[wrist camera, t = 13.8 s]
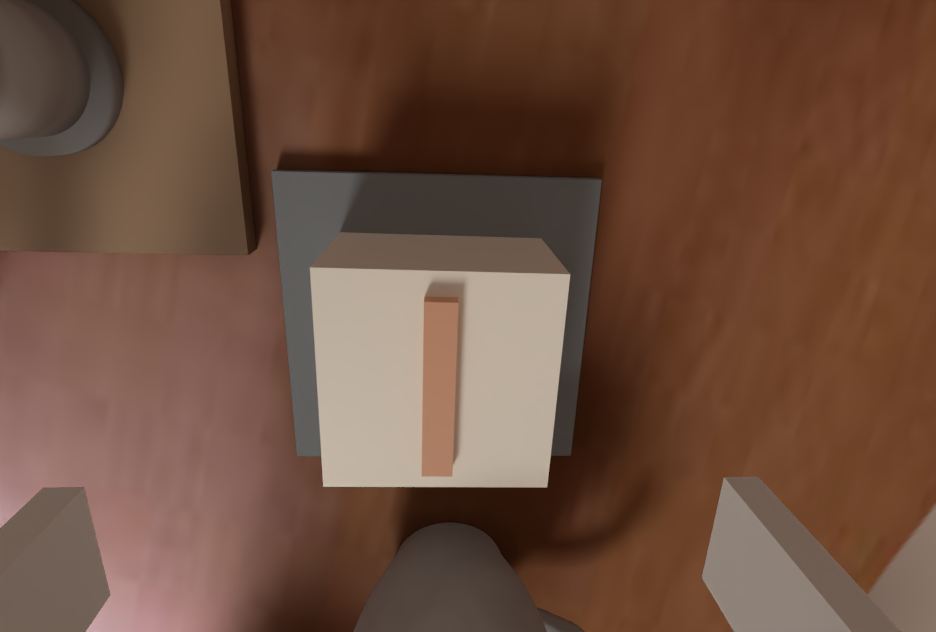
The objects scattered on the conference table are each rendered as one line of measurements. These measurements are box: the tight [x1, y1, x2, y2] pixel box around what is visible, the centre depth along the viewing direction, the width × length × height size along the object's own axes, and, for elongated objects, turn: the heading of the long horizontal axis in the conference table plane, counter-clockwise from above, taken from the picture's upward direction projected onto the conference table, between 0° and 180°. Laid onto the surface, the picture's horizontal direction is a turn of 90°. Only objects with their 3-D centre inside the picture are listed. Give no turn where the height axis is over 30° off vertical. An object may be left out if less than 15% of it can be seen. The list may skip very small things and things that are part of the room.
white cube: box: [310, 232, 570, 487], centre depth 19 cm, size 8×8×6 cm
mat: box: [271, 170, 602, 456], centre depth 22 cm, size 12×12×1 cm
